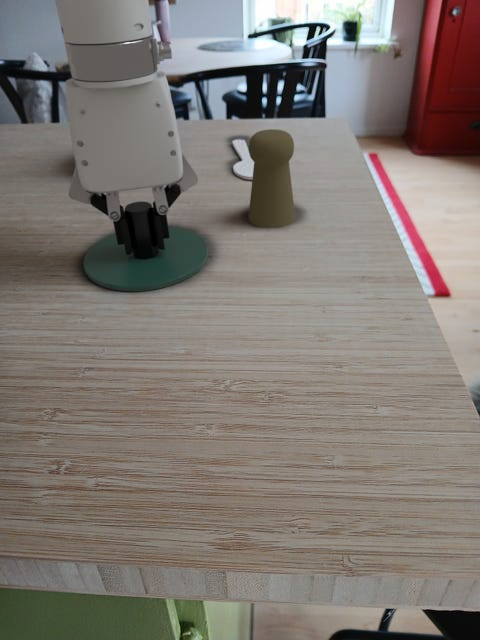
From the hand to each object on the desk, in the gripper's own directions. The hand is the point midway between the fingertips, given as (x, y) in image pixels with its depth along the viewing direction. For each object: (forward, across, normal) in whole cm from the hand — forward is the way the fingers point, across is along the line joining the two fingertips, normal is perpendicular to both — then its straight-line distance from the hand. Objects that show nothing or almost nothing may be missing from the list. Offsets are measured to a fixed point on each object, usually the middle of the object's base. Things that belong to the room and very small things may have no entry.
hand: (144, 245), depth 56 cm
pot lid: (+2, 0, 0) cm, 2 cm away
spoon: (+2, -18, -29) cm, 34 cm away
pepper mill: (+2, -16, -6) cm, 17 cm away
